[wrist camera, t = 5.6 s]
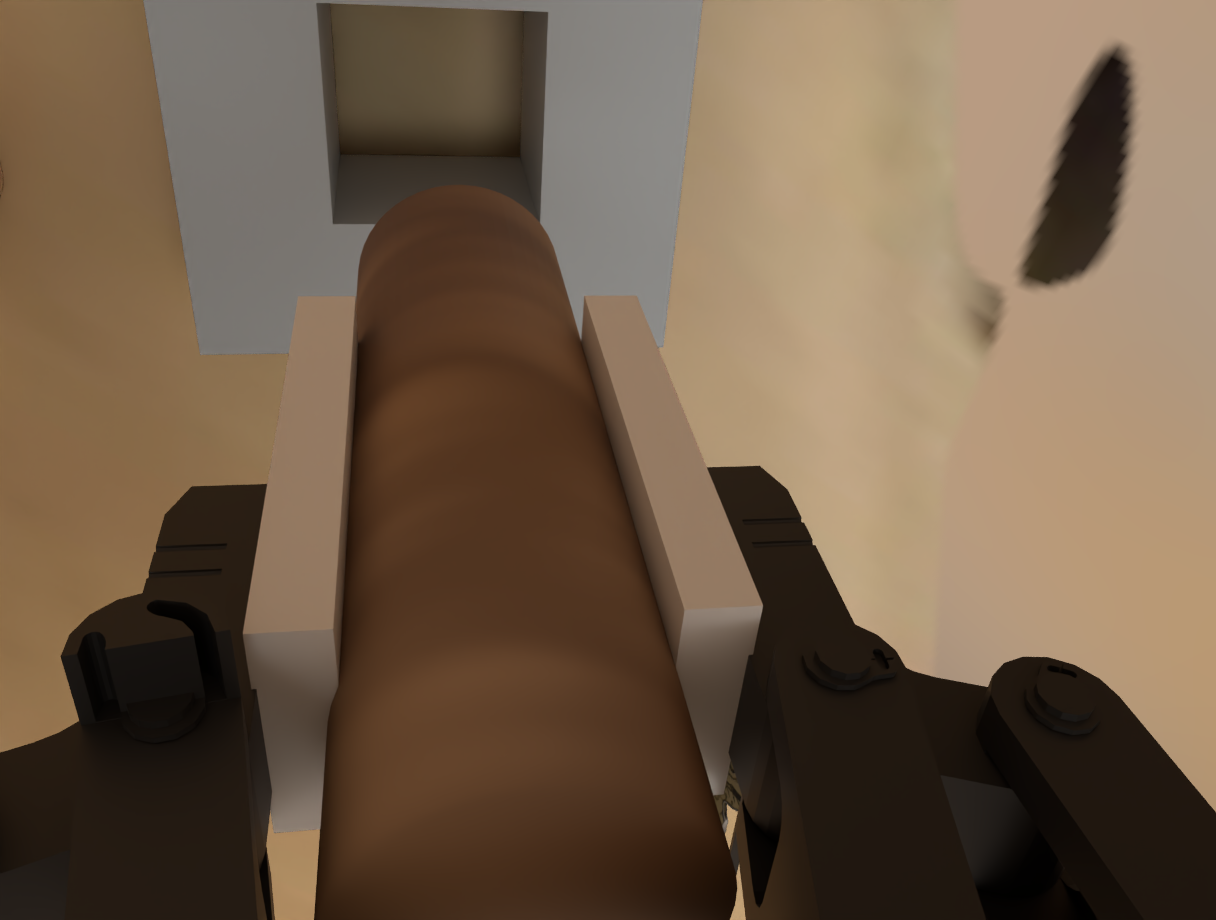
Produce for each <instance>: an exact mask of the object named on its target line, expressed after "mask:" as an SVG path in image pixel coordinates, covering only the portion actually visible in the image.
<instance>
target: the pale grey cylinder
mask: <svg viewBox="0 0 1216 920" xmlns="http://www.w3.org/2000/svg"><path fill="white" fill-rule="evenodd" d="M2 189H3V173H2V168H1V165H0V197H1V193H2Z"/></svg>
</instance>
